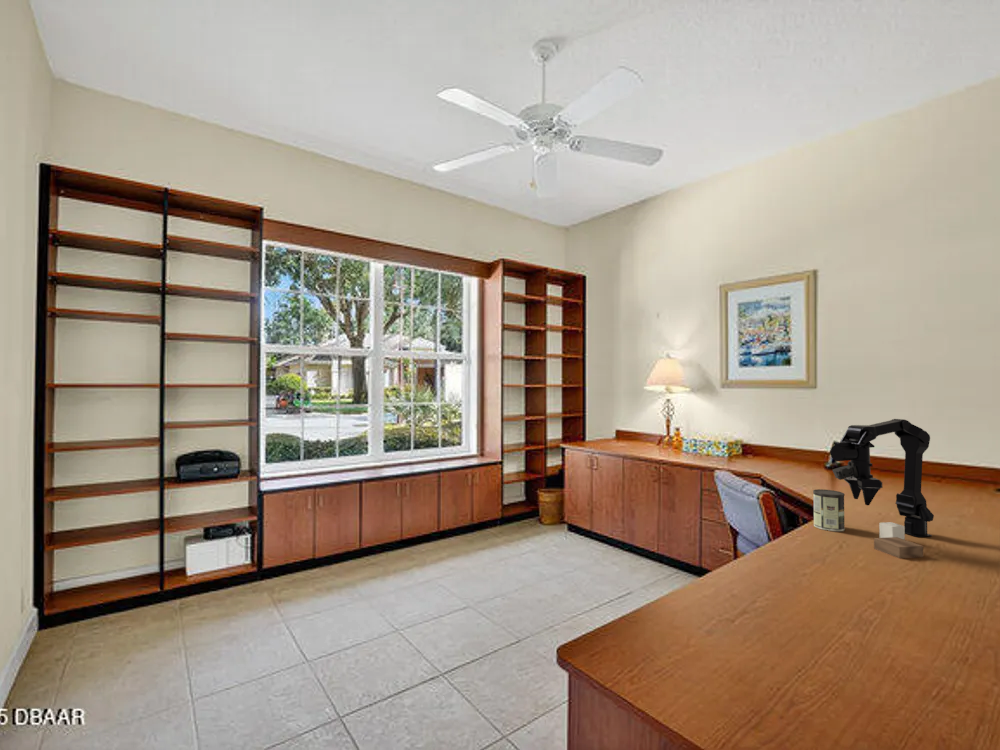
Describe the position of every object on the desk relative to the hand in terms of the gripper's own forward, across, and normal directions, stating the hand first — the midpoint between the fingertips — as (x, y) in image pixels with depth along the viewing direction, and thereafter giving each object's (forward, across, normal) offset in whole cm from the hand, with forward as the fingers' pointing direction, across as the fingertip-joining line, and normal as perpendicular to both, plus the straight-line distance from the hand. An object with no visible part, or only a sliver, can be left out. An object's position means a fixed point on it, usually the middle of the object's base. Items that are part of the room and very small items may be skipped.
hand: (861, 502), depth 175 cm
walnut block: (+14, +14, +5) cm, 20 cm away
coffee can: (+14, -11, -7) cm, 19 cm away
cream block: (+14, 0, +9) cm, 17 cm away
